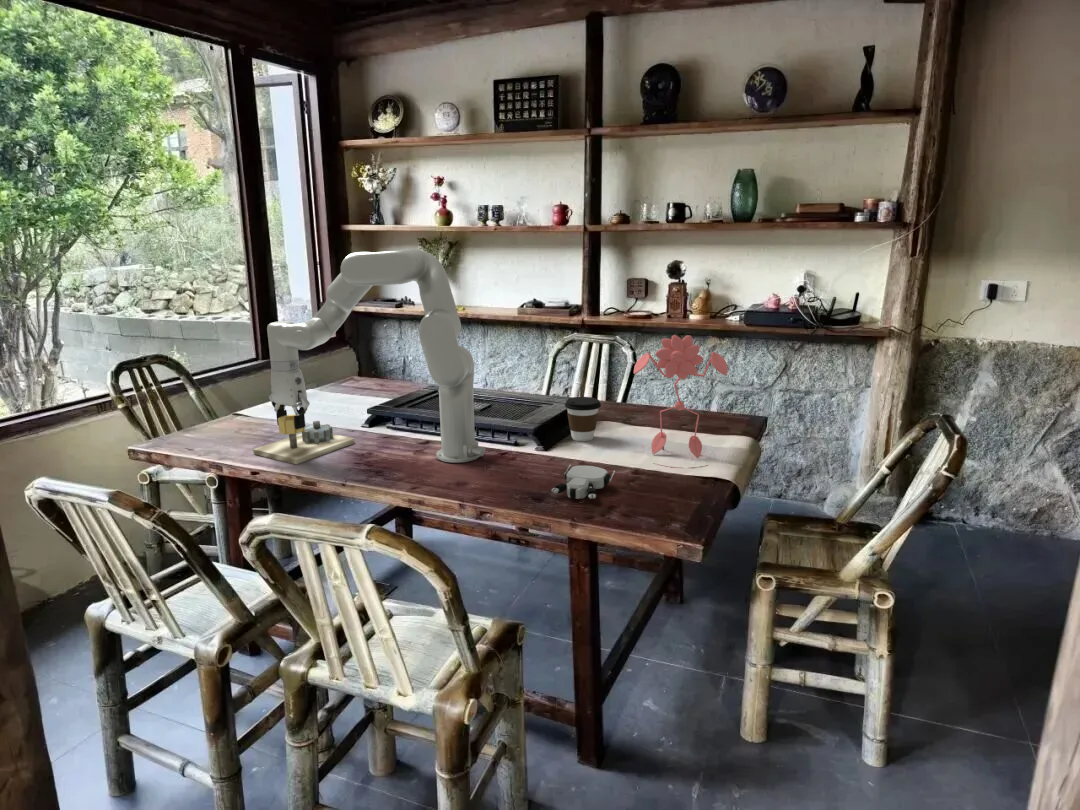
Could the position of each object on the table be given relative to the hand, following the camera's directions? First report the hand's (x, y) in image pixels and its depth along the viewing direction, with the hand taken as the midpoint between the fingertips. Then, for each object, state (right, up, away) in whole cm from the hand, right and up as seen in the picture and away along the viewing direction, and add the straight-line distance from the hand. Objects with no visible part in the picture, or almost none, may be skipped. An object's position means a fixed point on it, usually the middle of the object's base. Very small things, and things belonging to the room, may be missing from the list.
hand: (291, 425), depth 201 cm
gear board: (+2, -7, +5) cm, 9 cm away
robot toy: (+82, -16, -29) cm, 89 cm away
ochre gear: (0, -1, +1) cm, 2 cm away
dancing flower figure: (+109, -9, -6) cm, 110 cm away
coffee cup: (+85, -4, +12) cm, 86 cm away
